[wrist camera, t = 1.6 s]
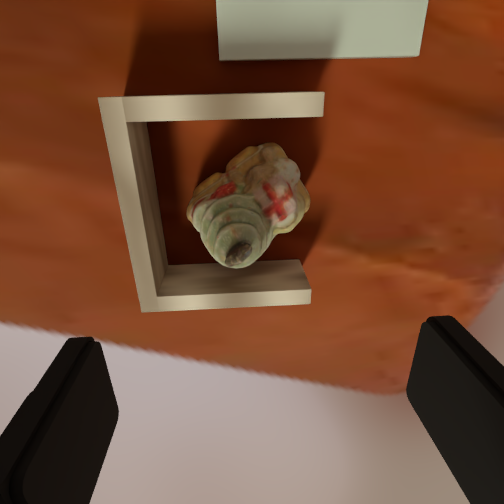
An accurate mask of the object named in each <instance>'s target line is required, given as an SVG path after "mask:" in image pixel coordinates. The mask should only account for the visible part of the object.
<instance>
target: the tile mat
mask: <svg viewBox="0 0 504 504" xmlns="http://www.w3.org/2000/svg"><path fill="white" fill-rule="evenodd" d="M427 5H428V0H216V9H217V27H218V45H219V60H220V61H259V60H306V59H353V58H401V57H415V56H419V52H420V46H421V40H422V34H423V29H424V23H425V17H426V11H427Z"/></svg>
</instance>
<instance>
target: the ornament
mask: <svg viewBox="0 0 504 504" xmlns="http://www.w3.org/2000/svg"><path fill="white" fill-rule="evenodd" d="M299 178H300V171H299V168H298V166H297V164H296V163H295V162H294V161H292V160H291V159H288V157H287V156H286V154H285V152H284V150H283V149H282V148H281V147H280V146H279V145H278V144H276V143H264V144H261V145H259V146H256V147H253V146H249V147H246V148H245V149H244V150H242V151H241V152H240V153H239V154H238V155H236V156H235V157H234V158H233V159H232V160H231V161H230V162H229V163H228V164H227V166H226V171H225V173H219V172H217V173H214V174H213V175H211V176H210V177H208V178H207V179H205V180H204V181H203V182H201V183H200V184H199V185H198V186H197V187H196V188H195V189H194V192H193V197H192V199H191V201H190V203H189V204H188V207H187V213H186V214H187V218H188V219H189V220H190V221H191V223H192V224H193V226H194V227H195V228H196V230H197V231H199V232H200V235H201V239H202V241H203V243H204V245H205V247H206V248H207V249H208V251H209V253H210V254H211V255H212V256H213V258H214V259H215V260H216V261H218V262H219V263H220V264H222V265H224V266H226V267H231V268H243V267H246V266H249V265H251V264H252V263H254V262H255V260H257V259H258V258H259V257H260V256H261V255H262V254H263V253H264V251H265V250H266V249H267V248H268V246H269V245H270V243H271V241H272V240H273V238H274V237H275V236H276V235H277V234H279V233H287V232H290V231H291V230H292V229H294V227H295V226H296V225H297V224H298V223H299V222H300V221H301V219H302V217H303V215H304V213H306V212H307V211H308V209H309V207H310V196H309V193H308V191H307V190H306V188H305V187H304V185H303V183H302V182H301V180H300V179H299Z"/></svg>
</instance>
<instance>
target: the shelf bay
mask: <svg viewBox="0 0 504 504" xmlns="http://www.w3.org/2000/svg"><path fill="white" fill-rule="evenodd" d="M98 102H99V106H100V111H101V116H102V121H103V126H104V131H105V136H106V141H107V145H108V150H109V155H110V160H111V165H112V170H113V175H114V180H115V184H116V189H117V194H118V199H119V204H120V209H121V214H122V219H123V223H124V228H125V233H126V238H127V243H128V248H129V253H130V258H131V262H132V267H133V272H134V277H135V282H136V287H137V292H138V297H139V301H140V306H141V311H142V312H159V311H179V310H198V309H218V308H238V307H258V306H278V305H297V304H310V302H311V287H310V285H309V282H308V280H307V277H306V275H305V272H304V270H303V267H302V265H301V262H300V260H299V259H295V260H273V261H255V262H254V263H252V264H251V265H249V266H246V267H243V268H231V267H226V266H224V265H222V264H220V263H206V264H184V265H168V260H167V254H166V247H165V240H164V234H163V227H162V221H161V214H160V207H159V201H158V194H157V187H156V181H155V174H154V167H153V161H152V154H151V148H150V141H149V134H148V128H147V121H183V120H219V119H254V118H290V117H323V107H324V92H270V93H230V94H189V95H149V96H117V97H100V98H98Z"/></svg>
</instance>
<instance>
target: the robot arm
mask: <svg viewBox="0 0 504 504" xmlns="http://www.w3.org/2000/svg"><path fill="white" fill-rule="evenodd" d="M406 391H407V397H408V399H409V401H410V403H411V405H412V407H413V408H414V410H415V412H416V413H417V415H418V416H419V418H420V420H421V422H422V423H423V425H424V427H425V428H426V430H427V432H428V433H429V435H430V437H431V438H432V440H433V442H434V443H435V445H436V447H437V448H438V450H439V452H440V454H441V455H442V457H443V458H444V460H445V462H446V463H447V465H448V467H449V469H450V470H451V472H452V474H453V475H454V477H455V479H456V480H457V482H458V484H459V486H460V487H461V489H462V490H463V492H464V494H465V495H466V497H467V499H468V500H469V502H470V504H504V366H503V365H502V364H501V363H499V361H497V359H496V358H495V357H494V356H493V355H491V354H490V353H489V352H488V351H487V350H486V349H485V348H484V347H483V346H482V345H481V344H480V343H479V342H478V341H477V340H476V339H475V338H474V337H473V336H472V335H471V334H470V333H469V332H468V331H467V330H466V329H465V328H464V327H463V326H462V325H461V324H460V323H459V322H458V321H457V320H456V319H455V318H453V317H452V316H432V317H429V318H428V319H427V321H426V322H423V323H422V325H421V329H420V333H419V337H418V341H417V346H416V350H415V354H414V358H413V362H412V367H411V371H410V375H409V379H408V384H407V389H406ZM118 413H119V410H118V405H117V401H116V398H115V395H114V391H113V387H112V383H111V380H110V376H109V372H108V369H107V365H106V361H105V358H104V355H103V351H102V347H101V344H100V342H95V341H94V339H93V338H92V337H77V338H69V339H68V340H67V341H66V342H65V344H64V345H63V347H62V349H61V350H60V351H59V353H58V354H57V356H56V357H55V359H54V361H53V362H52V363H51V365H50V366H49V368H48V369H47V371H46V372H45V374H44V375H43V377H42V378H41V380H40V381H39V383H38V384H37V386H36V388H35V389H34V391H32V392H31V393H30V394H29V395H28V396H27V397H26V399H25V400H24V402H23V403H22V405H21V406H20V408H19V409H18V411H17V412H16V414H15V415H14V417H13V418H12V420H11V421H10V423H9V424H8V426H7V427H6V429H5V430H4V432H3V433H2V434H1V436H0V504H89V503H90V500H91V497H92V494H93V491H94V488H95V485H96V483H97V480H98V477H99V474H100V471H101V468H102V465H103V462H104V459H105V456H106V453H107V450H108V447H109V445H110V442H111V439H112V436H113V433H114V430H115V427H116V424H117V421H118Z"/></svg>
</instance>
